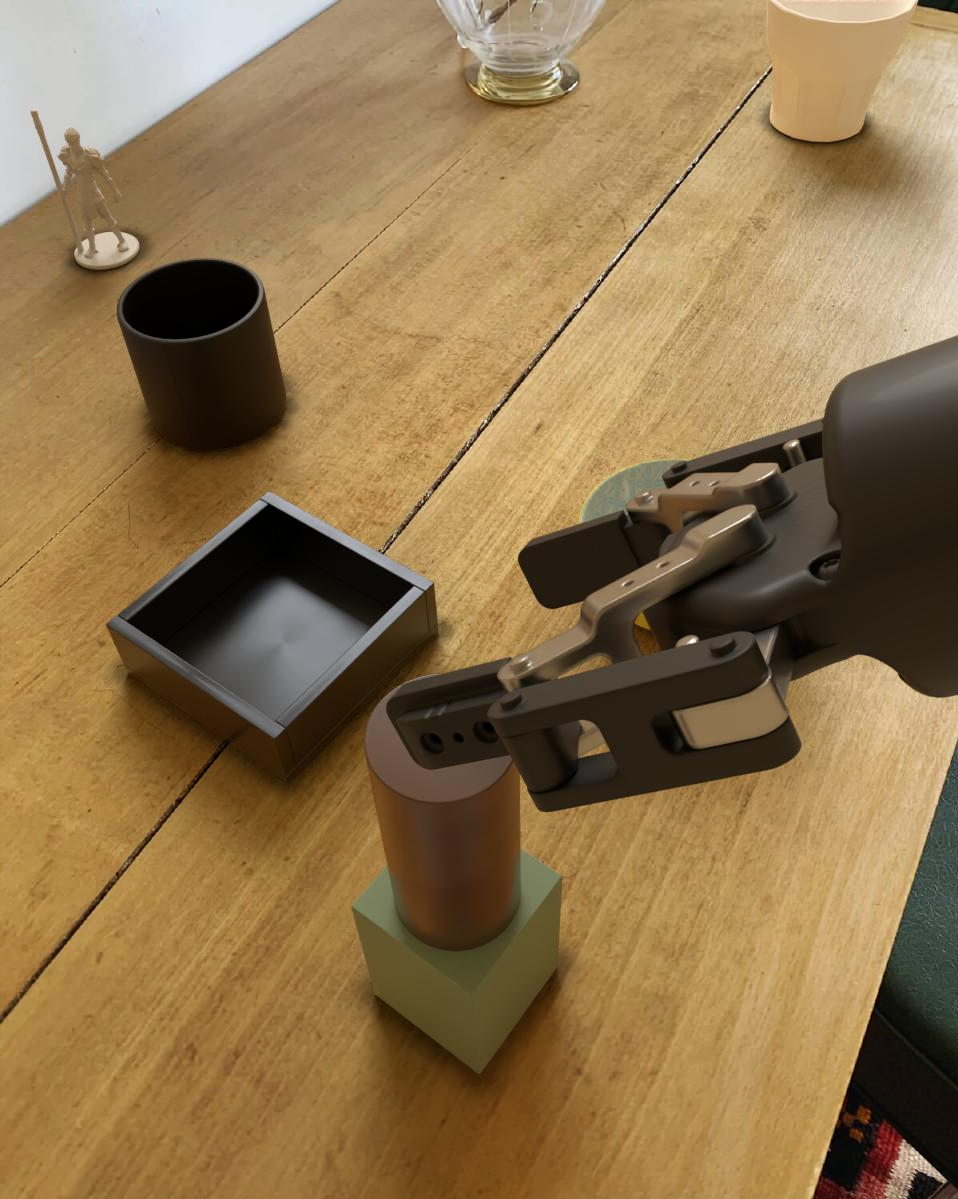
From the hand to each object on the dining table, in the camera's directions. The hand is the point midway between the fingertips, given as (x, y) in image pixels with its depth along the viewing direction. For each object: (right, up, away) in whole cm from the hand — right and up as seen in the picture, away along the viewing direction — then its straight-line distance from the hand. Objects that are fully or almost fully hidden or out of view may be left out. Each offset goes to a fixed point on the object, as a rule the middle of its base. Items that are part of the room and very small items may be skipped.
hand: (475, 645), depth 32 cm
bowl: (+11, +1, +34) cm, 35 cm away
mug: (-19, +15, +47) cm, 53 cm away
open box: (-11, -2, +32) cm, 34 cm away
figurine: (-30, +30, +60) cm, 74 cm away
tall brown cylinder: (-1, -10, +12) cm, 16 cm away
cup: (+31, +45, +71) cm, 90 cm away
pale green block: (0, -16, +19) cm, 25 cm away
